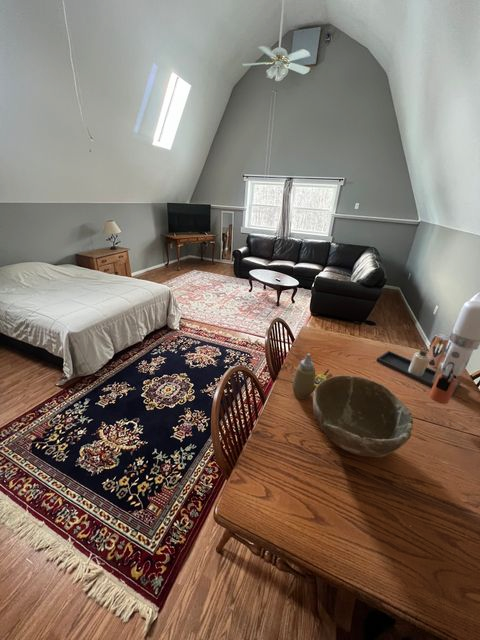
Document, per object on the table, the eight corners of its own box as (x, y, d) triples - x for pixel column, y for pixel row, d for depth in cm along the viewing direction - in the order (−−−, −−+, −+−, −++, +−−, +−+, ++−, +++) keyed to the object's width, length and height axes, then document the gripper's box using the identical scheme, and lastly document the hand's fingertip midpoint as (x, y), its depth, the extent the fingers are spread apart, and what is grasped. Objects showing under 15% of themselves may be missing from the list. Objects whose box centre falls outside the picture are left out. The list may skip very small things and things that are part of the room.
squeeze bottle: (305, 404, 97) (313, 363, 89) (286, 394, 102) (292, 354, 94) (316, 394, 103) (324, 354, 95) (298, 384, 107) (304, 345, 100)
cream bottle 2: (450, 384, 111) (461, 362, 106) (446, 390, 107) (456, 367, 103) (434, 377, 115) (444, 355, 110) (429, 382, 111) (439, 360, 107)
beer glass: (422, 365, 124) (434, 337, 117) (423, 359, 129) (434, 331, 123) (440, 371, 120) (453, 342, 114) (440, 364, 125) (453, 336, 119)
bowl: (360, 501, 67) (376, 460, 61) (289, 427, 87) (295, 391, 81) (417, 452, 81) (435, 415, 74) (344, 398, 101) (353, 365, 95)
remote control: (309, 381, 106) (323, 365, 117) (308, 385, 107) (323, 368, 118) (320, 387, 104) (334, 369, 114) (319, 391, 104) (333, 373, 115)
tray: (459, 386, 111) (461, 382, 110) (450, 397, 104) (452, 393, 103) (387, 354, 131) (388, 350, 131) (375, 362, 125) (377, 358, 124)
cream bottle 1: (425, 373, 117) (434, 351, 113) (420, 378, 114) (429, 356, 109) (411, 366, 121) (419, 346, 117) (405, 371, 118) (413, 350, 113)
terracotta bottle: (451, 399, 94) (463, 373, 90) (445, 406, 91) (457, 380, 86) (432, 390, 99) (443, 365, 94) (426, 397, 95) (437, 371, 90)
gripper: (471, 353, 77) (449, 401, 85) (486, 336, 87) (465, 381, 95) (441, 343, 82) (422, 389, 90) (459, 328, 92) (440, 370, 100)
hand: (444, 384), depth 92 cm, fingers closed on terracotta bottle, 5 cm apart
